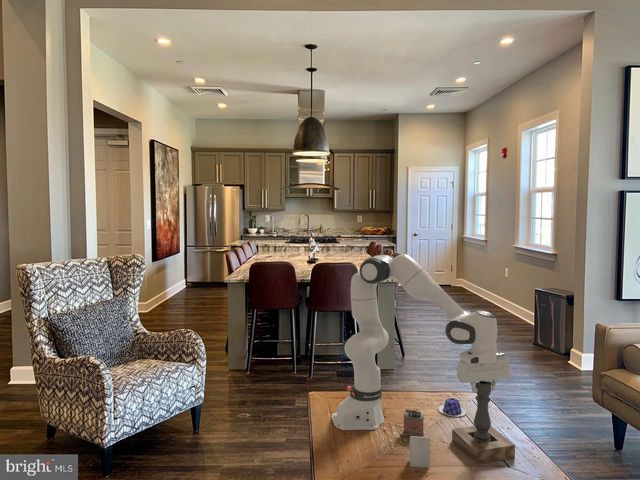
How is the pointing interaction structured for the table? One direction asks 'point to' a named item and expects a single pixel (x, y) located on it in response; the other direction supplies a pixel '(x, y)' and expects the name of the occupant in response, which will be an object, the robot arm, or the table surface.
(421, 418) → the lighter
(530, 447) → the table surface
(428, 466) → the tea bag
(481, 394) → the candle holder
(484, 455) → the walnut collar
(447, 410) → the pudding
